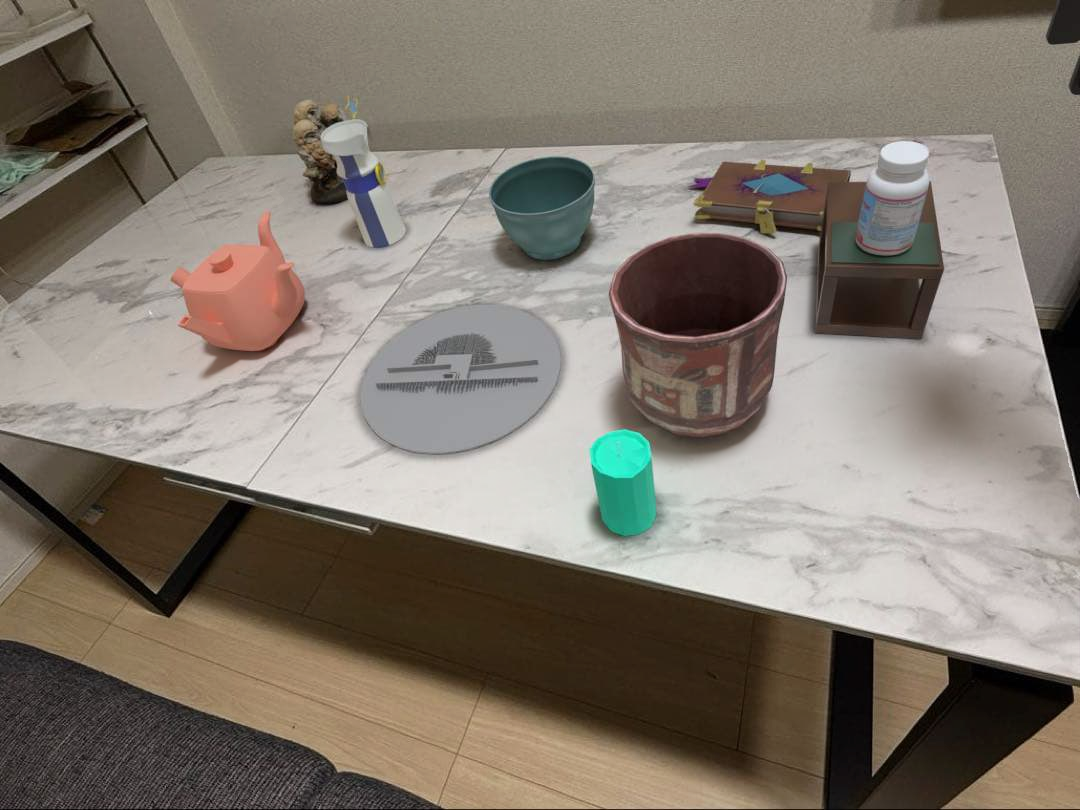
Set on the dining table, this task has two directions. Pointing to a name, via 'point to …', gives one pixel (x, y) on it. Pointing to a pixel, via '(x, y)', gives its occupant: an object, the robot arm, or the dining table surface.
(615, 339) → the dining table surface
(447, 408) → the plate
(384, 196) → the water bottle
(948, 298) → the dining table surface
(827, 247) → the stand
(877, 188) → the pill bottle
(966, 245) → the dining table surface
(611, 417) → the dining table surface
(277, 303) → the teapot
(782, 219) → the book
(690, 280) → the pottery
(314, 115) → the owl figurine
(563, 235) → the flower pot
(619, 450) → the candle
